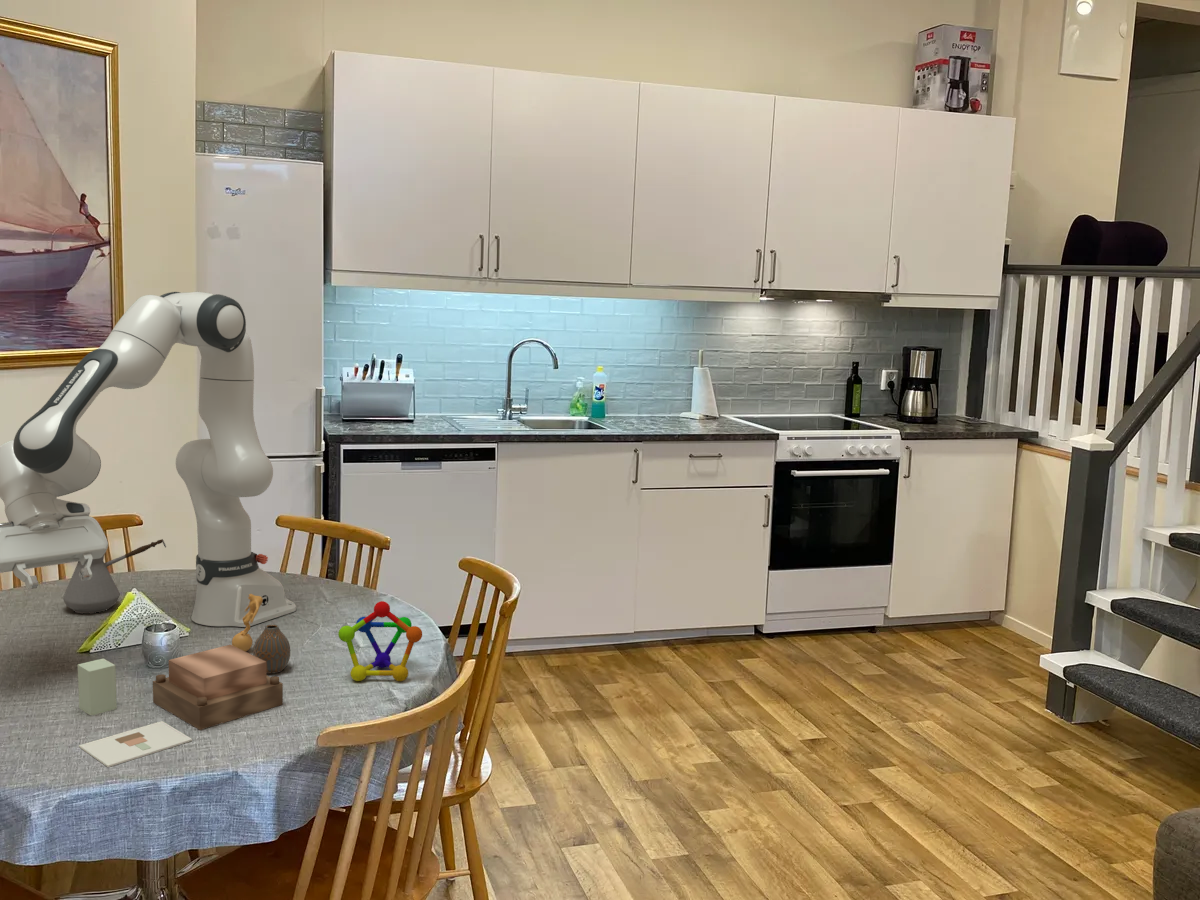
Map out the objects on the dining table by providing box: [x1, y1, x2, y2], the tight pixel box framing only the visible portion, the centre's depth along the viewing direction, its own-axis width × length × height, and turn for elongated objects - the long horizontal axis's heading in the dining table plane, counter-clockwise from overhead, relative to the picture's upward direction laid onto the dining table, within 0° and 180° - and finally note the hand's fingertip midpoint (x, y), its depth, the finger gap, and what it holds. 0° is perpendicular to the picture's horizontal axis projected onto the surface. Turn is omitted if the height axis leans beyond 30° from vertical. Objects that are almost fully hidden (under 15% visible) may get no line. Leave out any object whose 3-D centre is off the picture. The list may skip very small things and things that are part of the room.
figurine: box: [231, 594, 263, 652], centre depth 221 cm, size 8×6×12 cm
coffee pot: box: [62, 538, 167, 614], centre depth 245 cm, size 21×12×15 cm, turn 113°
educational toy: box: [337, 600, 423, 682], centre depth 212 cm, size 16×13×15 cm
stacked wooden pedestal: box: [152, 644, 284, 731], centre depth 195 cm, size 16×16×8 cm
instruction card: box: [78, 720, 193, 768], centre depth 178 cm, size 14×10×1 cm
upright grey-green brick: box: [77, 657, 118, 717], centre depth 191 cm, size 4×4×8 cm
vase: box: [252, 624, 291, 674], centre depth 212 cm, size 7×7×9 cm
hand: (60, 582), depth 196 cm, fingers open, 8 cm apart
